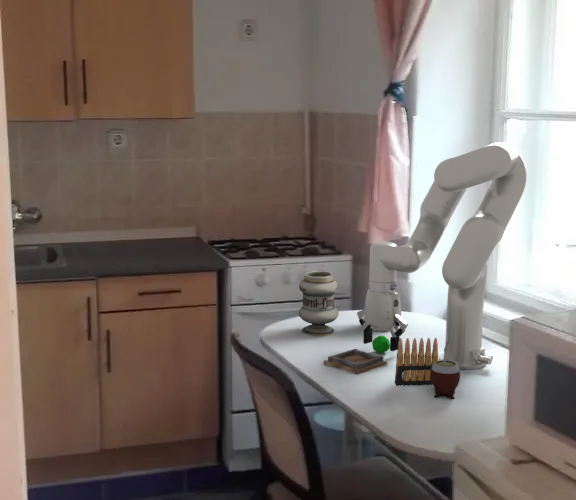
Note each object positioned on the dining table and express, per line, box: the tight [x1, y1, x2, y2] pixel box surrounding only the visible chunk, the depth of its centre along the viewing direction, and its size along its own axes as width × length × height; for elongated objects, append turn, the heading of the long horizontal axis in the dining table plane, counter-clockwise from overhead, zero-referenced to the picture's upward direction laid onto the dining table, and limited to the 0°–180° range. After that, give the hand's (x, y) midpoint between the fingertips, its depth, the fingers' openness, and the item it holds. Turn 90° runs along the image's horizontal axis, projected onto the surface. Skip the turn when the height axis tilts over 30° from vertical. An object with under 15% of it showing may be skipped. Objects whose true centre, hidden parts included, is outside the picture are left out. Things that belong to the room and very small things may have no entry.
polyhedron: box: [371, 335, 390, 355], centre depth 239 cm, size 5×5×5 cm
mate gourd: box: [430, 341, 461, 400], centre depth 204 cm, size 8×8×15 cm
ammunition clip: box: [394, 337, 439, 387], centre depth 212 cm, size 11×2×12 cm, turn 94°
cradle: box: [323, 348, 388, 375], centre depth 228 cm, size 12×12×2 cm
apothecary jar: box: [298, 270, 340, 337], centre depth 258 cm, size 12×12×18 cm
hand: (380, 346), depth 239 cm, fingers open, 9 cm apart
